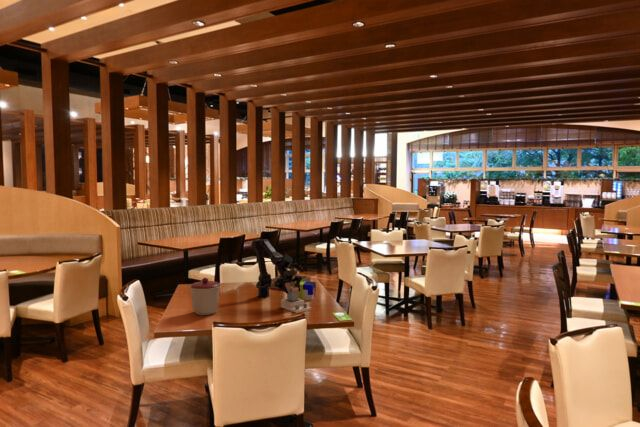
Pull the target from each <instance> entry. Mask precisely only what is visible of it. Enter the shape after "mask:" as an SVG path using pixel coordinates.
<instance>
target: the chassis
mask: <svg viewBox="0 0 640 427" xmlns="http://www.w3.org/2000/svg"><path fill="white" fill-rule="evenodd" d="M280 308H283V309H286V310H288V311H290V312H293V313H296V314H297V313H302V312H307V311H311V310H312V307H311V306H308V303H305V300H304V299H298V301H296V302H288V301H287V298H282V299H281V300H280Z"/></svg>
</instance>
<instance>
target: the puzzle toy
mask: <svg viewBox="0 0 640 427" xmlns="http://www.w3.org/2000/svg"><path fill="white" fill-rule="evenodd" d="M316 286H317V284H316V281H311V282H306V281H301V282H300V292H299V291H298V299H301V300H304V301H307V300H309V301H313V300H314V299H315V298H316V294H317V292H316V290H317V289H316V288H317V287H316Z"/></svg>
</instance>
